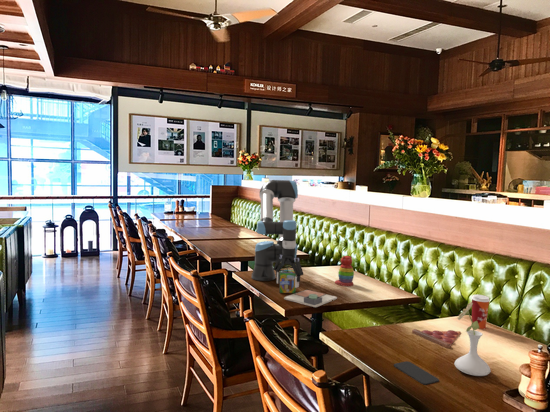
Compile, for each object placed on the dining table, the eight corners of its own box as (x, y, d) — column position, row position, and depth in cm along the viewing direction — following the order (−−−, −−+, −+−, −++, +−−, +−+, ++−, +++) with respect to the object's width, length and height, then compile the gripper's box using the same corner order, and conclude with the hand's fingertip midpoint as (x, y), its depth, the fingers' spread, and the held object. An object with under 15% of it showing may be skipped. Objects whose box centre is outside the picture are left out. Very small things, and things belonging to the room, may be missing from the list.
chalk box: (295, 293, 233) (296, 267, 232) (279, 293, 233) (280, 267, 232) (295, 289, 242) (296, 264, 241) (279, 288, 243) (280, 263, 242)
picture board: (284, 299, 222) (284, 292, 222) (306, 291, 239) (306, 285, 239) (315, 307, 210) (315, 300, 210) (336, 298, 226) (337, 292, 226)
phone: (423, 384, 134) (392, 364, 148) (423, 386, 134) (392, 366, 148) (440, 380, 137) (408, 360, 151) (440, 382, 137) (408, 363, 151)
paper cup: (482, 331, 185) (484, 300, 184) (465, 325, 191) (467, 295, 190) (491, 327, 189) (493, 297, 188) (475, 322, 195) (477, 293, 194)
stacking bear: (348, 281, 264) (350, 253, 263) (357, 285, 255) (358, 257, 253) (333, 282, 260) (334, 254, 259) (341, 287, 251) (342, 257, 250)
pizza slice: (411, 329, 180) (442, 322, 190) (411, 334, 180) (442, 327, 190) (447, 344, 164) (479, 336, 174) (447, 350, 164) (479, 341, 174)
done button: (307, 299, 215) (307, 295, 215) (311, 298, 218) (312, 293, 218) (314, 301, 212) (314, 296, 212) (318, 299, 215) (319, 295, 215)
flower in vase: (468, 361, 153) (472, 294, 151) (497, 375, 143) (502, 303, 141) (443, 368, 147) (448, 298, 145) (472, 383, 137) (477, 308, 135)
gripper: (268, 245, 241) (266, 282, 242) (302, 251, 226) (301, 290, 227) (276, 244, 247) (274, 280, 248) (310, 249, 231) (309, 287, 233)
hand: (287, 285), depth 238 cm, fingers closed on chalk box, 12 cm apart
